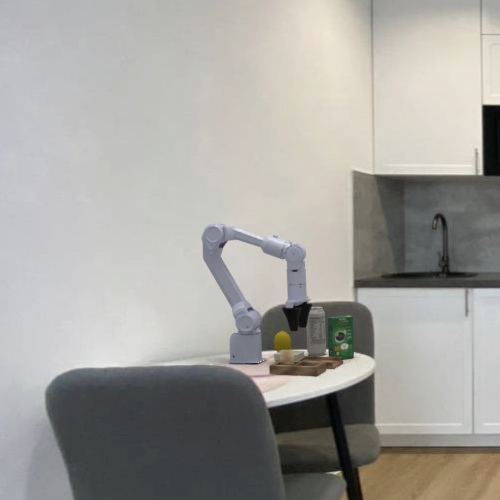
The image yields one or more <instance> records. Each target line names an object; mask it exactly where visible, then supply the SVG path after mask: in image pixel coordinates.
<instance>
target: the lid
mask: <svg viewBox="0 0 500 500" xmlns="http://www.w3.org/2000/svg"><path fill="white" fill-rule="evenodd" d="M272 355H273V361H274V362H275V360H280V351H279V352H277V351H276V352H275V353H273V354H272ZM304 356H305V351H304V350H294V361H300V360H302V359H303V358H304Z"/></svg>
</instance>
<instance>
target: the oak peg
mask: <svg viewBox="0 0 500 500" xmlns="http://www.w3.org/2000/svg"><path fill="white" fill-rule="evenodd" d="M294 351H295V350H294V349H290V350H281V351H280V365H292V366H294V365H295V362H294Z"/></svg>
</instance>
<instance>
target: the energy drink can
mask: <svg viewBox="0 0 500 500" xmlns="http://www.w3.org/2000/svg"><path fill="white" fill-rule="evenodd" d="M326 332H327V331H326V313H325V311H324V308H323V306H312V308H311V310H310V312H309V316H308V321H307V326H306V351H307V353H308V354H309V355H308V356H320V355H321V356H325V355H324V354H326V353H327V337H326Z"/></svg>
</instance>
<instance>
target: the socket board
mask: <svg viewBox="0 0 500 500" xmlns="http://www.w3.org/2000/svg"><path fill="white" fill-rule="evenodd" d="M294 362H295V365H294V366H292V365H280V360H279V361H277V362H275V361H274V362H273V363H272V364H269V365H268V366H269V367H268V369H269V375H281V376H284V375H285V376H302V377H303V376H305V377H318V376H320V375H321V374H323V373H324V372H325V373H326V371H327V369H326V362H311V361H294Z"/></svg>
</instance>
